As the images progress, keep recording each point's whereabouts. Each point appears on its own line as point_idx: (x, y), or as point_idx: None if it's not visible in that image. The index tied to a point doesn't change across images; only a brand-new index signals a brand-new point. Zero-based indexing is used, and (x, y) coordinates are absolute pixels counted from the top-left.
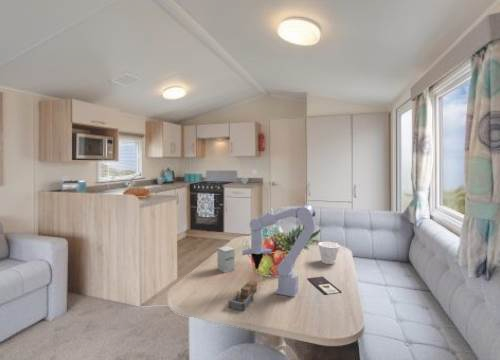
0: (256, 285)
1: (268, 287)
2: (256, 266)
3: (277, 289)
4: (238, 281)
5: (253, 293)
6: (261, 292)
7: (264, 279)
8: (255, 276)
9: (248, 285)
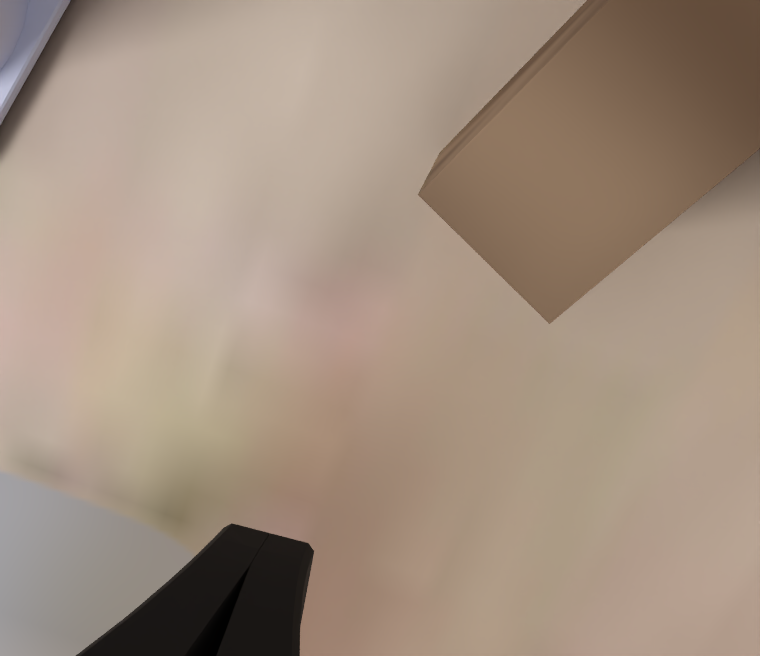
0: (434, 168)
1: (177, 224)
2: (268, 584)
3: (33, 43)
4: (603, 598)
5: (556, 35)
6: (364, 72)
7: (167, 506)
8: None
9: (739, 32)
